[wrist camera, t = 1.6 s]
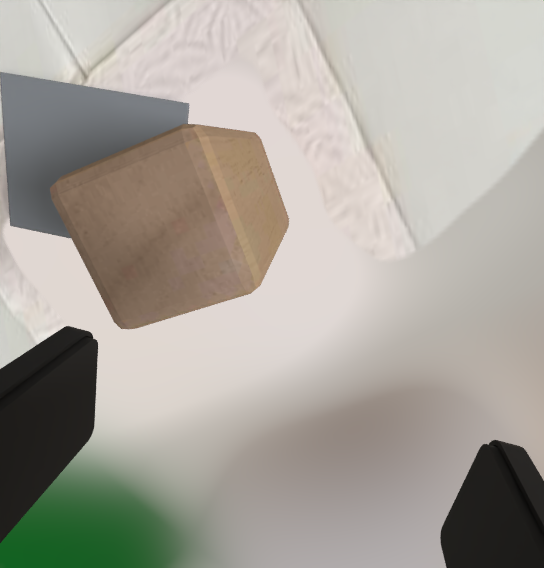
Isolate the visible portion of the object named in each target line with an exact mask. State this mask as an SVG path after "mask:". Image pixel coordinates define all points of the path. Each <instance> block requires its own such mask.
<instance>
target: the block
mask: <svg viewBox="0 0 544 568" xmlns="http://www.w3.org/2000/svg"><path fill="white" fill-rule="evenodd" d="M50 192H51V199H52V201H53V203H54V205H55V207H56V209H57V211H58V213H59V215H60V216H61V218H62V220H63V222H64V224H65V226H66V228H67V230H68V232H69V234H70V236H71V238H72V240H73V242H74V244H75V246H76V248H77V250H78V252H79V254H80V256H81V258H82V259H83V262H84V263H85V265H86V268H87V269H88V271H89V273H90V275H91V277H92V279H93V281H94V283H95V285H96V287H97V289H98V291H99V293H100V295H101V297H102V299H103V301H104V303H105V305H106V307H107V309H108V310H109V312H110V314H111V317H112V318H113V320H114V322H115V323H116V324H117V325H118V326H119V327H120V328H121V329H135V328H139V327H142V326H145V325H148V324H152V323H155V322H159V321H162V320H165V319H168V318H171V317H175V316H178V315H181V314H185V313H188V312H191V311H195V310H198V309H201V308H204V307H208V306H211V305H214V304H217V303H220V302H224V301H227V300H231V299H234V298H237V297H240V296H244V295H247V294H250V293H252V292H253V291H254V290H255V289H256V288H258V287H259V286H260V285H261V283H262V280H263V278H264V276H265V274H266V272H267V270H268V268H269V266H270V264H271V262H272V260H273V258H274V256H275V254H276V251H277V249H278V247H279V245H280V243H281V241H282V239H283V237H284V235H285V233H286V231H287V228H288V225H289V218H288V215H287V212H286V209H285V207H284V204H283V201H282V198H281V195H280V192H279V189H278V186H277V184H276V181H275V178H274V175H273V173H272V170H271V167H270V164H269V161H268V158H267V155H266V152H265V150H264V147H263V144H262V141H261V139H260V137H259V136H258V135H257V134H256V133H254V132H247V131H240V130H232V129H225V128H218V127H211V126H204V125H195V124H182V125H180V126H178V127H175V128H173V129H171V130H168V131H166V132H164V133H161V134H159V135H157V136H154V137H152V138H150V139H147V140H145V141H143V142H140V143H138V144H136V145H133V146H131V147H129V148H126V149H124V150H122V151H119V152H117V153H115V154H112V155H110V156H108V157H105V158H103V159H101V160H98V161H96V162H94V163H91V164H89V165H87V166H84V167H82V168H80V169H77V170H75V171H73V172H70V173H68V174H66V175H63V176H61V177H60V178H59V179H58V180H57V182H56V183H55V184H54V185H53V186H52V187H51V188H50Z"/></svg>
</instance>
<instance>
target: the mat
mask: <svg viewBox="0 0 544 568" xmlns="http://www.w3.org/2000/svg"><path fill="white" fill-rule="evenodd" d="M0 77H1V93H2V108H3V123H4V138H5V153H6V168H7V183H8V198H9V213H10V225H11V226H14V227H19V228H24V229H29V230H33V231H39V232H43V233H48V234H52V235H58V236H62V237H67V238H71V236H70V234H69V232H68V230H67V228H66V226H65V224H64V222H63V220H62V218H61V216H60V215H59V213H58V211H57V209H56V207H55V205H54V203H53V201H52V199H51V192H50V188H51V187H52V186H53V185H54V184H55V183H56V182H57V180H58V179H59V178H60V177H61V176H63V175H66V174H68V173H70V172H73V171H75V170H77V169H80V168H82V167H84V166H87V165H89V164H91V163H94V162H96V161H98V160H101V159H103V158H105V157H108V156H110V155H112V154H115V153H117V152H119V151H122V150H124V149H126V148H129V147H131V146H133V145H136V144H138V143H140V142H143V141H145V140H147V139H150V138H152V137H154V136H157V135H159V134H161V133H164V132H166V131H168V130H171V129H173V128H175V127H178V126H180V125H182V124H188V113H189V104H188V103H183V102H177V101H171V100H165V99H159V98H153V97H147V96H141V95H135V94H129V93H123V92H117V91H111V90H105V89H99V88H93V87H87V86H81V85H75V84H69V83H63V82H57V81H51V80H45V79H39V78H33V77H27V76H21V75H15V74H9V73H3V72H0Z"/></svg>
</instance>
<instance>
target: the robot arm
mask: <svg viewBox="0 0 544 568" xmlns="http://www.w3.org/2000/svg"><path fill="white" fill-rule="evenodd" d="M97 356H98V342H97V340H95V339H93V335H92V334H91V333H90V332H89V331H85V330H81V329H77V328H74V327H70V326H66V327H64V328H62V329H61V330H59V331H58V332H56V333H55V334H53V335H52V336H50V337H49V338H47V339H46V340H44V341H43V342H41V343H39V344H38V345H36V346H35V347H33V348H32V349H30V350H29V351H27V352H26V353H24V354H23V355H21V356H20V357H18V358H17V359H15V360H14V361H12V362H11V363H9V364H7V365H6V366H4V367H3V368H1V369H0V543H1V542H2V540H3V539H4V538H5V537H6V536H7V534H8V533H9V532H10V531H11V530H12V529H13V528H14V526H15V525H16V524H17V523H18V522H19V521H20V519H21V518H22V517H23V516H24V515H25V514H26V512H27V511H28V510H29V509H30V508H31V507H32V505H33V504H34V503H35V502H36V501H37V500H38V498H39V497H40V496H41V495H42V494H43V493H44V491H45V490H46V489H47V488H48V487H49V486H50V485H51V483H52V482H53V481H54V480H55V479H56V478H57V477H58V475H59V474H60V473H61V472H62V471H63V470H64V468H65V467H66V466H67V465H68V464H69V463H70V461H71V460H72V459H73V458H74V457H75V456H76V454H77V453H78V452H79V451H80V450H81V449H82V447H83V446H84V445H85V444H86V443H87V442H88V440H89V439H90V437H91V435H92V432H93V429H94V420H95V419H94V418H95V398H96V378H97V377H96V376H97ZM441 546H442V550H443V554H444V559H445V563H446V567H447V568H544V481H543V479H542V477H541V476H540V474H539V472H538V471H537V469H536V467H535V465H534V464H533V462H532V460H531V459H530V457H529V455H528V454H527V452H526V451H525V450H524V448H522V447H520V446H517V445H513V444H509V443H505V442H501V441H498V440H493V441H492V442H490V444H489V445H487V444H483V445H482V446H481V448H480V449H479V451H478V453H477V456H476V458H475V460H474V462H473V464H472V466H471V468H470V470H469V472H468V474H467V476H466V479H465V480H464V483H463V485H462V487H461V489H460V491H459V493H458V495H457V497H456V499H455V501H454V503H453V506H452V508H451V510H450V512H449V514H448V516H447V518H446V520H445V522H444V525H443V527H442V530H441Z"/></svg>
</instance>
